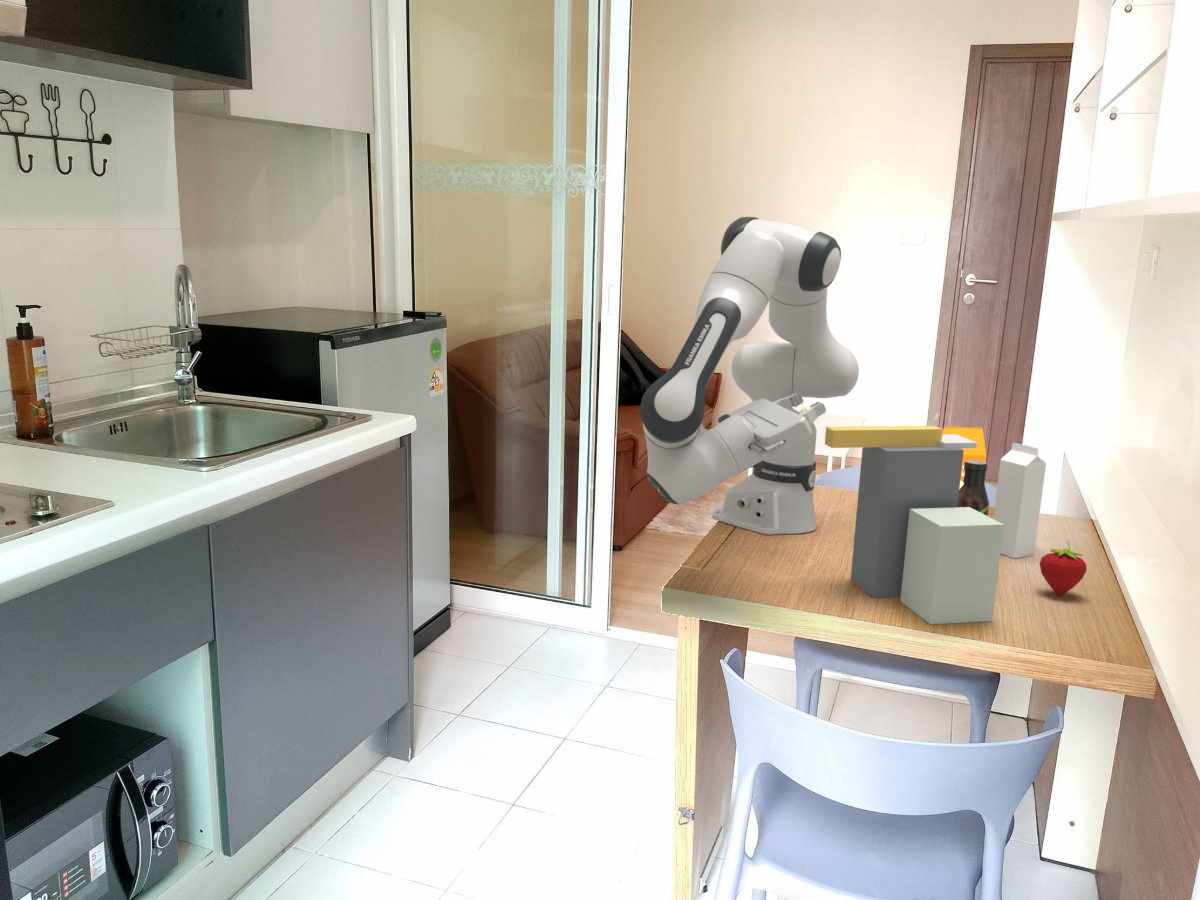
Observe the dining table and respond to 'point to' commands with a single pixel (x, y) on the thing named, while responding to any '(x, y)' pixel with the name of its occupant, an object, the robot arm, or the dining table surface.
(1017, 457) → the milk
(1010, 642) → the dining table surface
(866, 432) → the plate
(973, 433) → the orange juice
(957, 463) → the tall stand
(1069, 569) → the strawberry
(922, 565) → the sage green upright block
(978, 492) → the sauce bottle
